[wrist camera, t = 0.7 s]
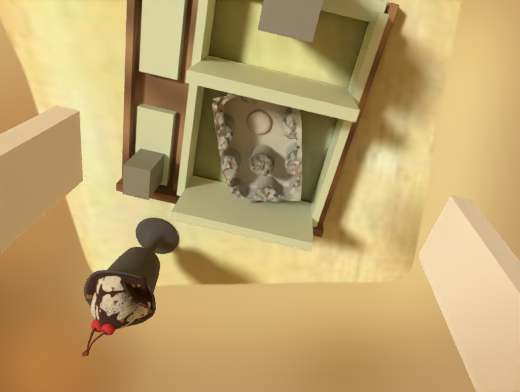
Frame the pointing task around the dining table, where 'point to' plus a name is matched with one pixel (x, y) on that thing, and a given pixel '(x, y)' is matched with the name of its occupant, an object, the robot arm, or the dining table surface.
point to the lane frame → (176, 94)
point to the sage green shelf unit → (279, 92)
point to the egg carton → (259, 148)
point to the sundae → (129, 281)
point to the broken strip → (149, 117)
